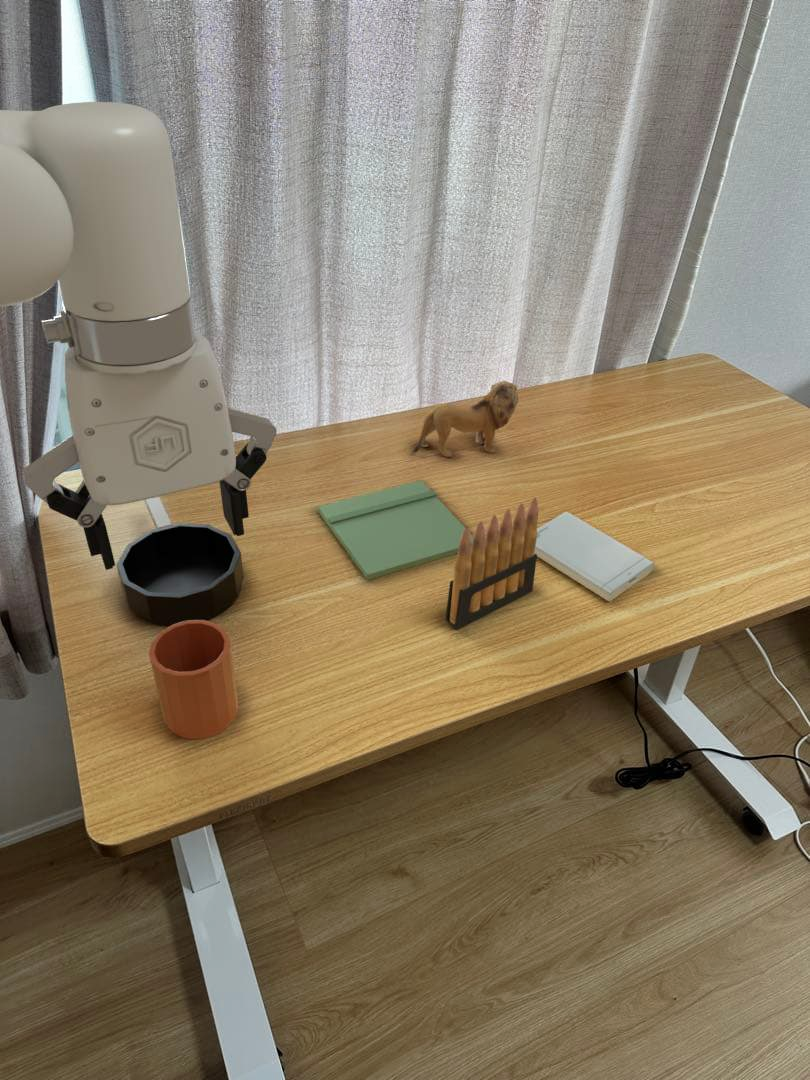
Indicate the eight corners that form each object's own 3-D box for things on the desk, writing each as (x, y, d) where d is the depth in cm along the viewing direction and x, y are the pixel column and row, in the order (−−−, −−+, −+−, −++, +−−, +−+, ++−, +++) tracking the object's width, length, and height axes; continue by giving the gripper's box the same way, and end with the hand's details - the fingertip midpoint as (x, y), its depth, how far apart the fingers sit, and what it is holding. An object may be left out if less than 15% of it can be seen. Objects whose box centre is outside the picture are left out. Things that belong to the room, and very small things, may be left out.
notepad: (367, 580, 87) (367, 572, 86) (318, 511, 97) (317, 504, 96) (478, 547, 92) (478, 539, 92) (421, 485, 102) (421, 478, 101)
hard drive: (522, 536, 92) (611, 591, 84) (567, 509, 96) (655, 560, 89) (520, 547, 93) (608, 603, 85) (565, 521, 97) (652, 571, 90)
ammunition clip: (456, 630, 81) (465, 536, 74) (444, 620, 82) (452, 526, 75) (532, 591, 87) (548, 499, 79) (520, 581, 88) (535, 490, 80)
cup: (174, 749, 69) (160, 685, 64) (156, 696, 73) (141, 633, 68) (247, 723, 71) (239, 660, 66) (225, 674, 76) (216, 611, 71)
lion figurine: (502, 431, 114) (510, 372, 108) (519, 449, 110) (528, 390, 104) (405, 446, 109) (407, 386, 104) (419, 466, 106) (422, 405, 100)
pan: (139, 641, 79) (132, 610, 76) (100, 529, 93) (93, 500, 90) (257, 606, 83) (254, 576, 81) (203, 504, 97) (199, 476, 95)
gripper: (-11, 375, 45) (59, 604, 55) (284, 328, 51) (297, 540, 62) (-22, 325, 50) (45, 542, 61) (247, 288, 57) (265, 490, 67)
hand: (172, 541), depth 61 cm, fingers open, 9 cm apart
